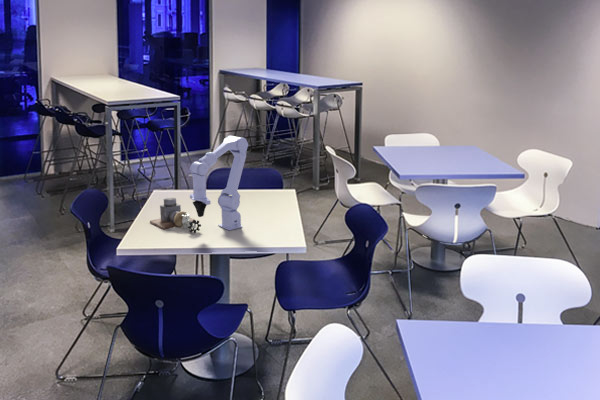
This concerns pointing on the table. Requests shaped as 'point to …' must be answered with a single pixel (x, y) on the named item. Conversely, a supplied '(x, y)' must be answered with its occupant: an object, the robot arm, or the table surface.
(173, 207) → the pipe stand
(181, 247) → the table surface
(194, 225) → the valve
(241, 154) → the robot arm
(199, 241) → the table surface
